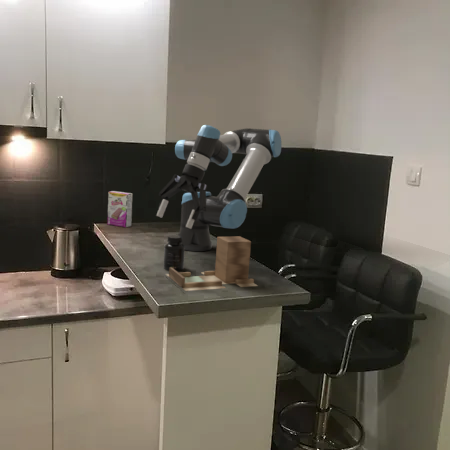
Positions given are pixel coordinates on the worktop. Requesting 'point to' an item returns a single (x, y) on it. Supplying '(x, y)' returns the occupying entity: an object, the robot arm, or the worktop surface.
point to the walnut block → (232, 258)
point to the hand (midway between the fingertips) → (173, 222)
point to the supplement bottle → (174, 253)
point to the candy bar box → (119, 209)
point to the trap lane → (203, 280)
